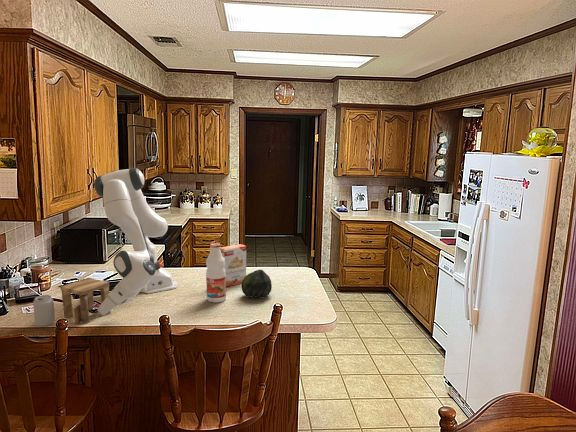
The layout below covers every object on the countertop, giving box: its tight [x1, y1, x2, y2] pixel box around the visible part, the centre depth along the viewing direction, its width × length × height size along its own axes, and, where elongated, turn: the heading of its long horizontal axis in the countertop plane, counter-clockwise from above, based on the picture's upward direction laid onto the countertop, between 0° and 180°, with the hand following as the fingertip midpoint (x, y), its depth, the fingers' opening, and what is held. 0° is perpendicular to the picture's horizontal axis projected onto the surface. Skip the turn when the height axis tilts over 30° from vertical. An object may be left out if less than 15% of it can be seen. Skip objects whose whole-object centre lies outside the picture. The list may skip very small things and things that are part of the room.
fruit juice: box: [205, 242, 227, 304], centre depth 214 cm, size 9×9×28 cm
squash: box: [241, 269, 273, 299], centre depth 219 cm, size 14×15×15 cm
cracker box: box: [220, 243, 247, 288], centre depth 238 cm, size 14×6×21 cm, turn 129°
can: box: [32, 294, 56, 328], centre depth 186 cm, size 8×8×12 cm
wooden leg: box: [78, 295, 103, 324], centre depth 191 cm, size 10×3×12 cm, turn 153°
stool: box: [60, 277, 112, 325], centre depth 194 cm, size 14×16×14 cm
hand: (105, 311), depth 186 cm, fingers closed
